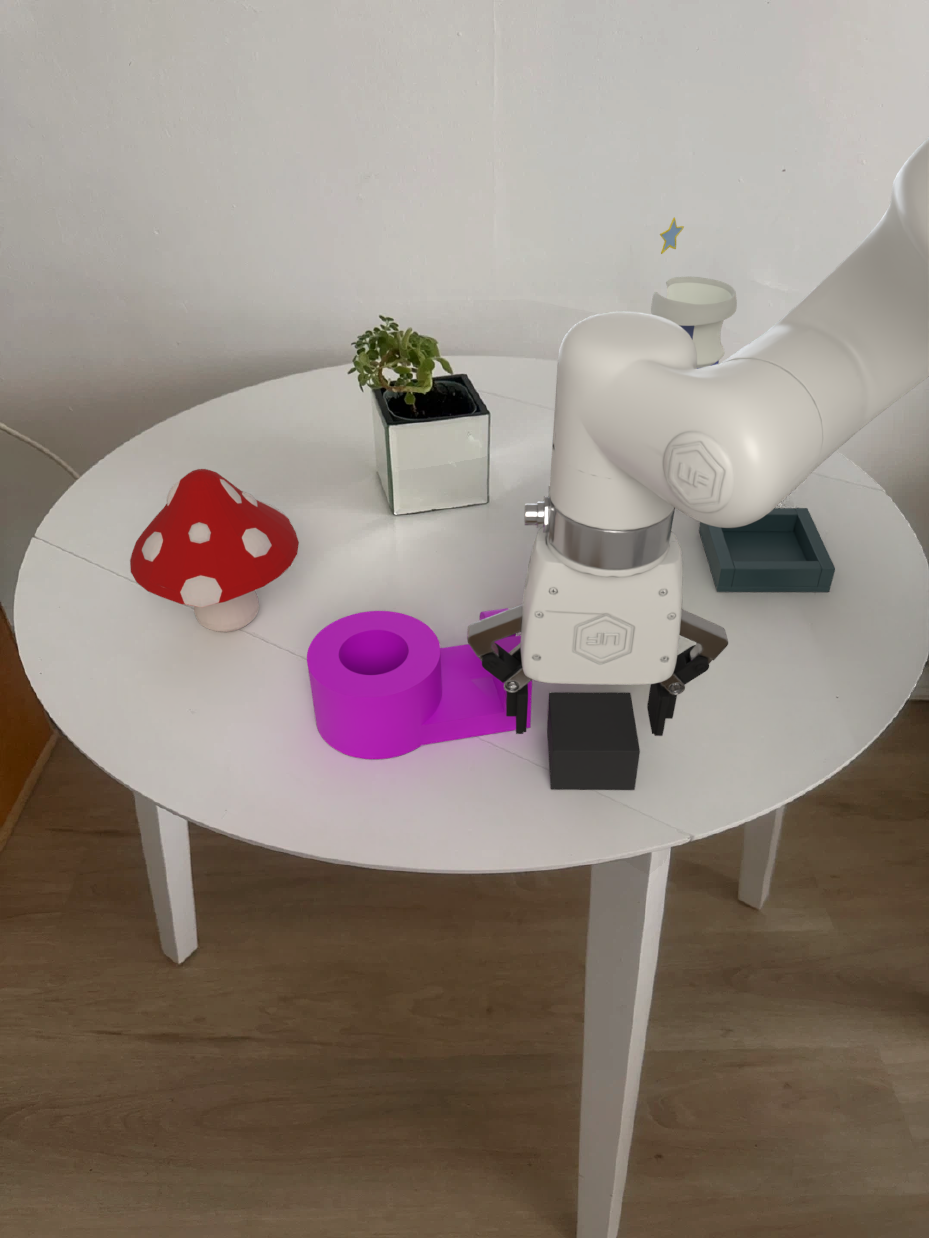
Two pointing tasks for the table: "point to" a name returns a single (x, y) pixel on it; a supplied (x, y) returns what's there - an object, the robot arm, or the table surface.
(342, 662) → the tape dispenser
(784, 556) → the socket pad
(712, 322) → the water bottle
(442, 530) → the table surface
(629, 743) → the black block
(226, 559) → the decorative mushroom
